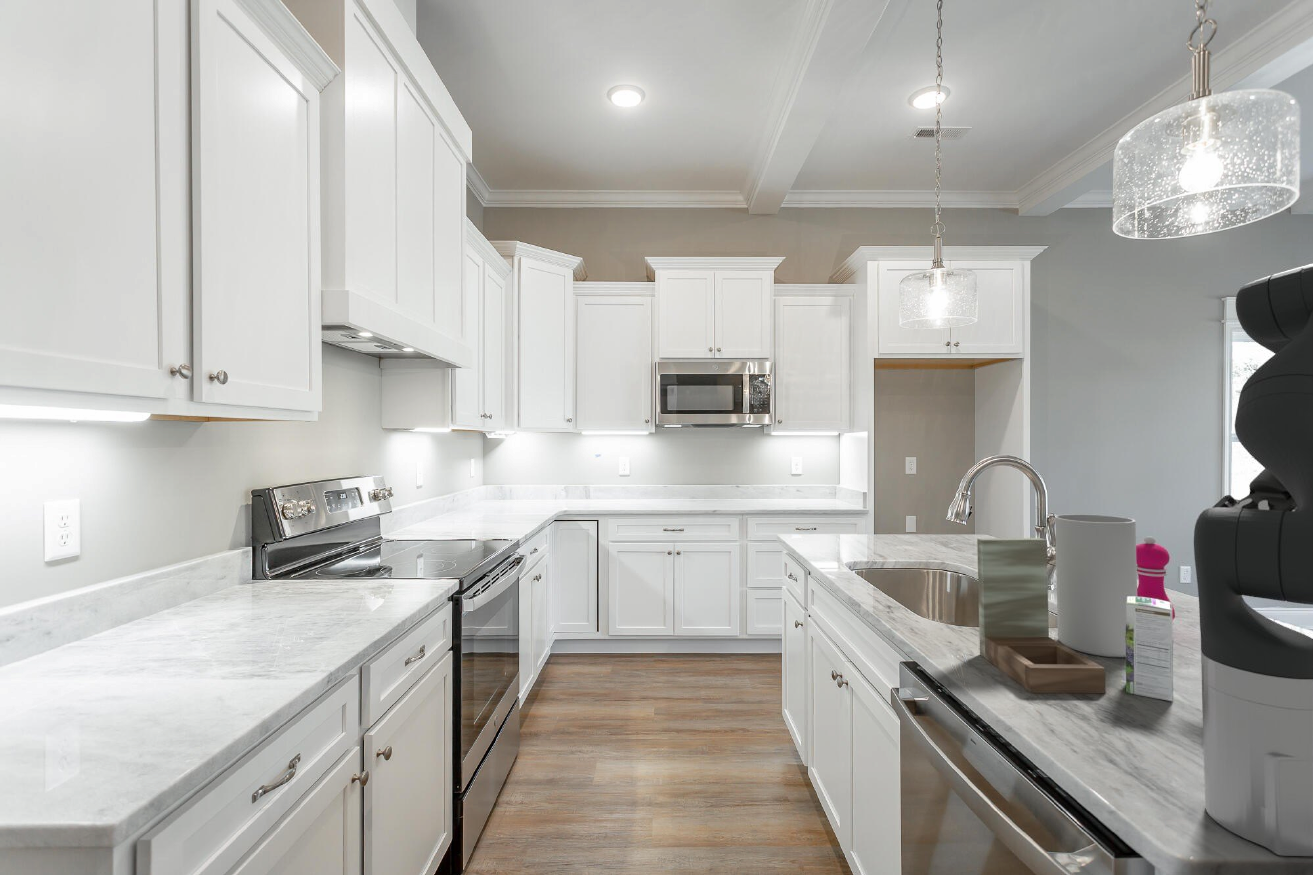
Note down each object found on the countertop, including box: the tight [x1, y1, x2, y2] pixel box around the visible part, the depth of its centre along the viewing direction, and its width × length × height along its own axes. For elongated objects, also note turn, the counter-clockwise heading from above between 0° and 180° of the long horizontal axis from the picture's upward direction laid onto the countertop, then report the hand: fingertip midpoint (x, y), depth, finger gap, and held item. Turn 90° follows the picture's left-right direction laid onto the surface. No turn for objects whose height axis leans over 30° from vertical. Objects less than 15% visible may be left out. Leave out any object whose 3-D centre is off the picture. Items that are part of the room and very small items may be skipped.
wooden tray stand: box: [976, 537, 1107, 694], centre depth 101 cm, size 17×12×22 cm
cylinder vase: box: [1054, 513, 1138, 658], centre depth 113 cm, size 12×12×25 cm
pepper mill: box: [1136, 535, 1176, 620], centre depth 120 cm, size 7×7×20 cm
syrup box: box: [1125, 596, 1174, 702], centre depth 93 cm, size 6×6×14 cm
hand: (1223, 551), depth 92 cm, fingers open, 8 cm apart
